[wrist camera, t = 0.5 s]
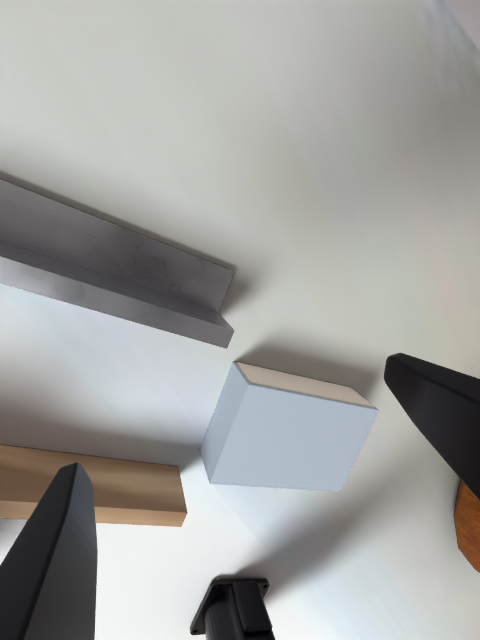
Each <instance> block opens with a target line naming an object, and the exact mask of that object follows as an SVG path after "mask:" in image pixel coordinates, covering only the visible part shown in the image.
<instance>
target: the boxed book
mask: <svg viewBox="0 0 480 640" xmlns="http://www.w3.org/2000/svg"><path fill="white" fill-rule="evenodd" d="M378 412H379V410H378V409H377V408H376V407H374V406H373V405H372V404H371V403H369V402H368V401H367V400H366V399H364V398H363V397H362V396H361V395H359V394H358V393H357V392H356V391H354V390H353V389H352V388H350V387H346V386H342V385H337V384H333V383H328V382H324V381H319V380H315V379H310V378H306V377H301V376H297V375H292V374H288V373H284V372H279V371H275V370H270V369H266V368H261V367H257V366H252V365H248V364H243V363H239V362H237V363H235V362H233V363H232V365H231V368H230V371H229V373H228V376H227V379H226V381H225V384H224V387H223V389H222V392H221V395H220V397H219V400H218V403H217V405H216V408H215V411H214V413H213V416H212V419H211V421H210V424H209V427H208V429H207V432H206V435H205V437H204V440H203V443H202V445H201V448H200V453H201V456H202V459H203V463H204V466H205V469H206V473H207V476H208V480H209V483H210V484H224V485H239V486H255V487H271V488H286V489H302V490H317V491H333V492H340V491H341V488H342V486H343V484H344V482H345V480H346V478H347V476H348V474H349V472H350V470H351V468H352V466H353V464H354V462H355V460H356V458H357V456H358V453H359V451H360V449H361V447H362V445H363V443H364V441H365V439H366V437H367V435H368V433H369V431H370V429H371V427H372V425H373V423H374V421H375V418H376V416H377V414H378Z"/></svg>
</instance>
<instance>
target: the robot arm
mask: <svg viewBox="0 0 480 640" xmlns="http://www.w3.org/2000/svg"><path fill="white" fill-rule="evenodd" d="M384 380H385V383H386V384H387V386H388V387H389V389H390V390H391V392H392V393H393V395H394V396H395V397H396V399H397V400H398V402H399V403H400V405H401V406H402V407H403V409H404V410H405V412H406V413H407V415H408V416H409V417H410V419H411V420H412V422H413V423H414V424H415V425H416V427H417V428H418V429H419V430H420V432H421V433H422V434H423V435H424V436H425V438H426V439H427V440H428V441H429V442H430V443H431V445H432V446H433V447H434V448H435V449H436V450H437V452H438V453H439V454H440V455H441V456H442V457H443V459H444V460H445V461H446V462H447V463H448V464H449V466H450V467H451V468H452V469H453V470H454V471H455V473H456V474H457V475H458V476H459V477H460V479H461V480H462V481H463V482H464V483H465V484H466V486H467V487H468V488H469V489H470V490H471V491H472V493H473V494H474V495H475V496H476V497H477V498H478V500H479V501H480V379H478V378H475V377H472V376H469V375H466V374H463V373H460V372H457V371H454V370H451V369H448V368H445V367H442V366H439V365H436V364H433V363H430V362H427V361H424V360H421V359H418V358H415V357H412V356H409V355H406V354H403V353H397V354H394V355H391V356H389V357H388V358H387V360H386V365H385V371H384ZM96 583H97V536H96V523H95V509H94V496H93V486H92V482H91V479H90V478H89V476H88V474H87V473H86V471H85V469H84V468H83V466H82V464H81V463H80V462H78V461H77V462H73V463H70V464H67V465H64V466H62V467H61V468H60V469H59V470H58V472H57V473H56V475H55V476H54V478H53V480H52V481H51V483H50V485H49V486H48V488H47V490H46V491H45V493H44V495H43V496H42V498H41V499H40V501H39V503H38V504H37V506H36V508H35V509H34V511H33V513H32V514H31V516H30V518H29V519H28V521H27V523H26V524H25V526H24V527H23V529H22V531H21V532H20V534H19V536H18V537H17V539H16V541H15V542H14V544H13V546H12V547H11V549H10V550H9V552H8V554H7V555H6V557H5V559H4V560H3V562H2V564H1V565H0V640H94V635H95V609H96ZM268 588H269V582H268V580H267V579H241V580H215V581H213V582H212V583H211V584H210V586H209V588H208V590H207V593H206V595H205V597H204V599H203V601H202V603H201V605H200V607H199V609H198V612H197V614H196V616H195V618H194V620H193V622H192V624H191V626H190V633H191V635H200V634H205V635H206V640H275V637H274V634H273V631H272V624H271V621H270V618H269V616H268V613H267V610H266V607H265V604H264V601H263V597H264V596H265V594H266V592H267V590H268Z"/></svg>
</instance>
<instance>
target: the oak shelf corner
mask: <svg viewBox="0 0 480 640" xmlns="http://www.w3.org/2000/svg"><path fill="white" fill-rule="evenodd" d="M77 461H78V462H80V463H81V464H82V466H83V468H84V469H85V471H86V473H87V474H88V476H89V478H90V479H91V482H92V486H93V496H94V509H95V523H113V524H133V525H154V526H175V527H181V526H182V524H183V522H184V519H185V517H186V515H187V509H186V504H185V498H184V493H183V488H182V483H181V478H180V473H179V468H178V467H176V466H168V465H160V464H152V463H144V462H136V461H128V460H120V459H112V458H103V457H95V456H87V455H79V454H71V453H63V452H55V451H47V450H39V449H31V448H22V447H14V446H6V445H0V518H10V519H29V518H30V516H31V514H32V513H33V511H34V509H35V508H36V506H37V504H38V503H39V501H40V499H41V498H42V496H43V495H44V493H45V491H46V490H47V488H48V486H49V485H50V483H51V481H52V480H53V478H54V476H55V475H56V473H57V472H58V470H59V469H60V468H61V467H62V466H64V465H67V464H70V463H73V462H77Z"/></svg>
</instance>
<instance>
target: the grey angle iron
mask: <svg viewBox="0 0 480 640" xmlns="http://www.w3.org/2000/svg"><path fill="white" fill-rule="evenodd" d="M233 274H234V271H232V270H229V269H227V268H224V267H222V266H219V265H217V264H214V263H212V262H209V261H207V260H204V259H202V258H199V257H197V256H194V255H191V254H189V253H186V252H184V251H181V250H179V249H176V248H174V247H171V246H169V245H166V244H164V243H161V242H159V241H156V240H154V239H151V238H149V237H146V236H143V235H141V234H138V233H136V232H133V231H131V230H128V229H126V228H123V227H121V226H118V225H116V224H113V223H111V222H108V221H106V220H103V219H100V218H98V217H95V216H93V215H90V214H88V213H85V212H83V211H80V210H78V209H75V208H73V207H70V206H68V205H65V204H63V203H60V202H58V201H55V200H52V199H50V198H47V197H45V196H42V195H40V194H37V193H35V192H32V191H30V190H27V189H25V188H22V187H20V186H17V185H15V184H12V183H9V182H7V181H4V180H2V179H0V283H1V284H5V285H8V286H12V287H15V288H19V289H22V290H26V291H29V292H33V293H36V294H39V295H43V296H46V297H50V298H53V299H57V300H60V301H64V302H67V303H71V304H74V305H78V306H81V307H84V308H88V309H91V310H95V311H98V312H102V313H105V314H109V315H112V316H116V317H119V318H123V319H126V320H129V321H133V322H136V323H140V324H143V325H147V326H150V327H154V328H157V329H161V330H164V331H168V332H171V333H174V334H178V335H181V336H185V337H188V338H192V339H195V340H199V341H202V342H206V343H209V344H213V345H216V346H219V347H223V348H226V349H227V347H228V345H229V342H230V340H231V338H232V335H233V333H234V329H233V328H232V327H231V326H230V325H229V324H228V323H227V322H226V320H225V319H224V318H223V317H222V316H221V315H220V314H219V312H218V311H219V309H220V306H221V304H222V301H223V299H224V296H225V294H226V292H227V289H228V287H229V284H230V282H231V279H232V277H233Z"/></svg>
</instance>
